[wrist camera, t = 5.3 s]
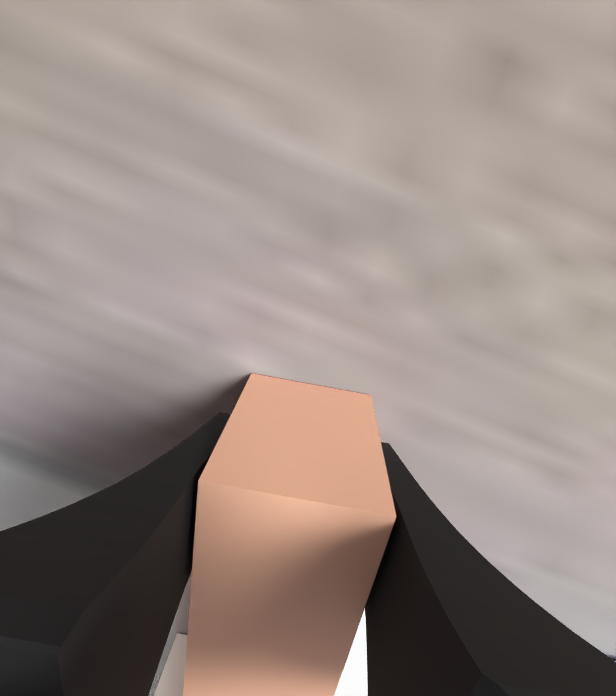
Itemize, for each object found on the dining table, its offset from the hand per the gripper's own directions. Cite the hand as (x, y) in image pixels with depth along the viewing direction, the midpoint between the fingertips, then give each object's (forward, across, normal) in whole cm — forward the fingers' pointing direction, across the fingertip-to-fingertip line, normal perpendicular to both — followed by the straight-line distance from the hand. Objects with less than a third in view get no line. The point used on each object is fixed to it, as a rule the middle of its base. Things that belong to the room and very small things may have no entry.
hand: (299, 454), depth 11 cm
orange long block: (+1, 0, +6) cm, 6 cm away
